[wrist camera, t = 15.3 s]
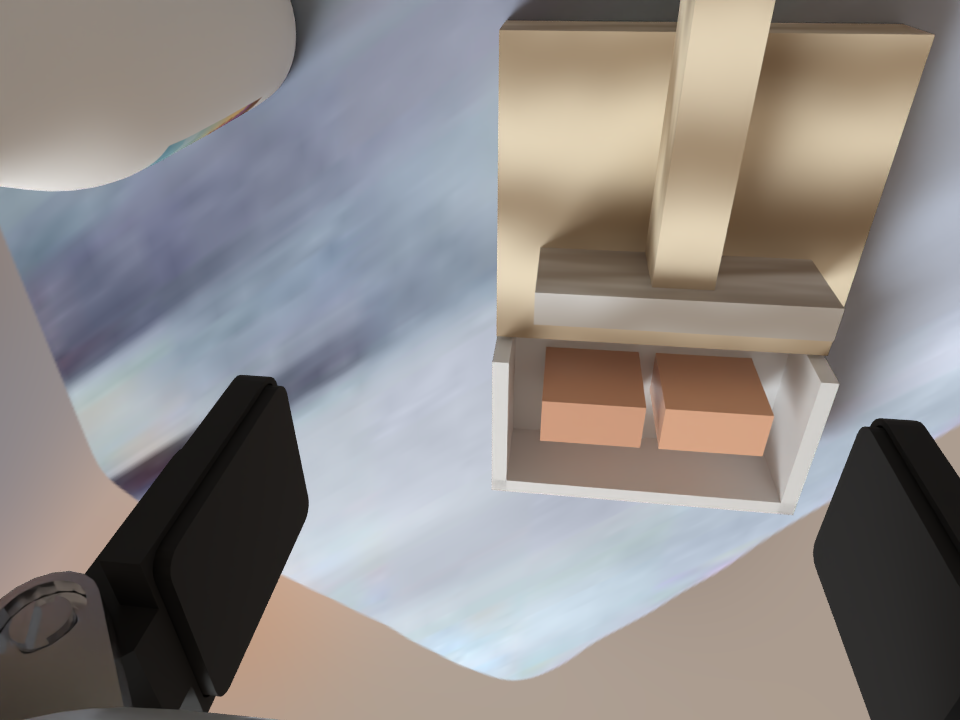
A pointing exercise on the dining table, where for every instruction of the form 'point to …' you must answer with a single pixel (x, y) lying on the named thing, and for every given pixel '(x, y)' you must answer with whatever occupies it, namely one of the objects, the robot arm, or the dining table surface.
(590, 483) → the box
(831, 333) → the scraper
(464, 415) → the dining table surface
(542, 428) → the tile
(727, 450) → the tile
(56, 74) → the milk bottle
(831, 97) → the board
